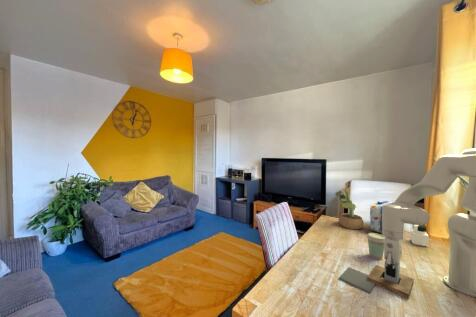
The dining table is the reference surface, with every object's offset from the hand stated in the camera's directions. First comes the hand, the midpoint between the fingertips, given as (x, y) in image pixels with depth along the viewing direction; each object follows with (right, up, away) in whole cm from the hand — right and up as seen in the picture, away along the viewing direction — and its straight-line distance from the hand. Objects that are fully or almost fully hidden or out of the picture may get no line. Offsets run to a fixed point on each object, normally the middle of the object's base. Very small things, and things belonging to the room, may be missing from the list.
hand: (391, 273), depth 86 cm
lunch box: (+40, -2, +57) cm, 70 cm away
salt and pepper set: (+47, -3, +37) cm, 60 cm away
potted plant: (+17, -2, +64) cm, 67 cm away
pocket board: (-1, -4, 0) cm, 4 cm away
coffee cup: (+8, -4, +21) cm, 23 cm away
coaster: (-14, -4, +2) cm, 15 cm away
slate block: (0, -3, 0) cm, 3 cm away
